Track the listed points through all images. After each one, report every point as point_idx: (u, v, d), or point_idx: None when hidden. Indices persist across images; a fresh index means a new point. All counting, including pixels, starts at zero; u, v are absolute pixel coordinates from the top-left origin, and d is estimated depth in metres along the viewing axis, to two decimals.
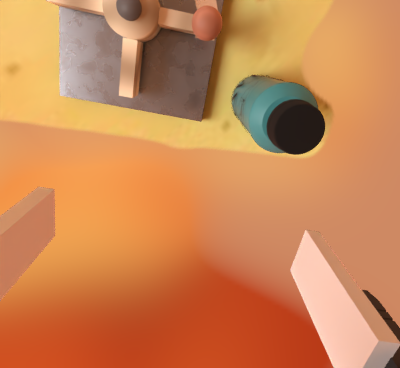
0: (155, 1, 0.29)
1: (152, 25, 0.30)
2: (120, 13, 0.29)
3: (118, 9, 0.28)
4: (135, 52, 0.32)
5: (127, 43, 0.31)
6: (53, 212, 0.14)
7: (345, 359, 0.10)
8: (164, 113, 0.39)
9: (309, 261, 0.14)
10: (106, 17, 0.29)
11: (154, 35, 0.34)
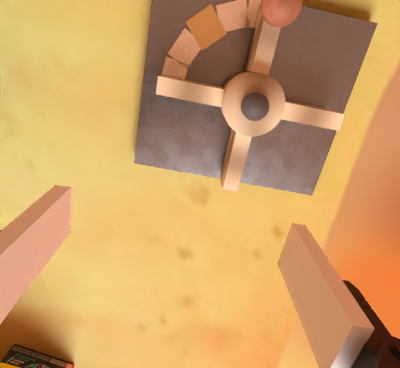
0: (250, 74, 0.25)
1: (274, 80, 0.25)
2: (261, 117, 0.25)
3: (257, 118, 0.25)
4: (295, 105, 0.27)
5: (284, 113, 0.27)
6: (69, 210, 0.15)
7: (324, 345, 0.11)
8: (355, 77, 0.30)
9: (294, 253, 0.14)
10: (261, 133, 0.27)
11: None
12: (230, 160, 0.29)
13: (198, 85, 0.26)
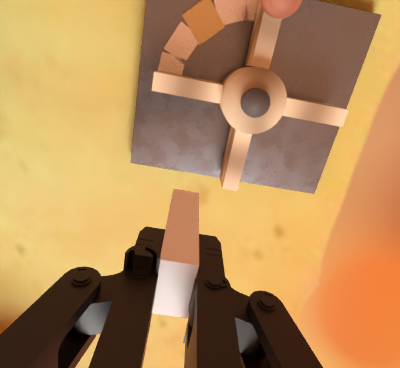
0: (249, 69, 0.24)
1: (275, 75, 0.24)
2: (262, 113, 0.24)
3: (258, 115, 0.24)
4: (296, 101, 0.26)
5: (286, 110, 0.26)
6: None
7: None
8: (358, 71, 0.29)
9: None
10: (261, 130, 0.26)
11: None
12: (230, 159, 0.28)
13: (196, 81, 0.25)
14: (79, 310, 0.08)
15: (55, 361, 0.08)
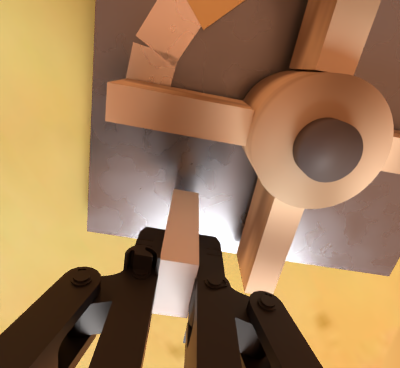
0: (318, 78, 0.10)
1: (374, 90, 0.11)
2: (343, 174, 0.11)
3: (333, 178, 0.11)
4: None
5: None
6: None
7: None
8: None
9: None
10: (332, 203, 0.12)
11: None
12: (261, 245, 0.15)
13: (197, 101, 0.12)
14: (79, 310, 0.08)
15: (55, 361, 0.08)
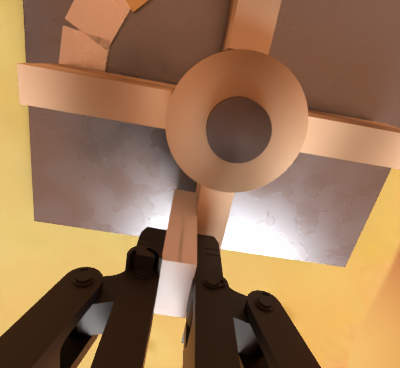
0: (223, 54, 0.10)
1: (282, 67, 0.10)
2: (254, 154, 0.11)
3: (245, 158, 0.11)
4: (327, 122, 0.12)
5: (304, 140, 0.13)
6: None
7: None
8: None
9: None
10: (254, 186, 0.12)
11: None
12: None
13: (111, 82, 0.12)
14: (81, 310, 0.08)
15: (57, 361, 0.08)
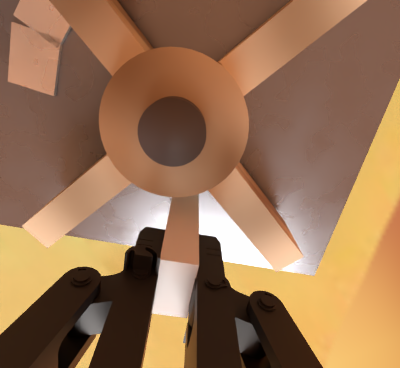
0: (107, 92, 0.10)
1: (154, 51, 0.10)
2: (201, 136, 0.10)
3: (198, 147, 0.10)
4: (248, 41, 0.11)
5: (246, 76, 0.11)
6: None
7: None
8: None
9: None
10: (238, 155, 0.11)
11: None
12: (242, 228, 0.14)
13: (76, 183, 0.13)
14: (79, 310, 0.08)
15: (55, 361, 0.08)
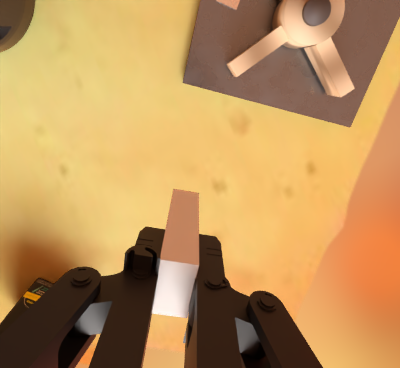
0: None
1: None
2: (329, 12, 0.26)
3: (327, 16, 0.26)
4: None
5: None
6: None
7: None
8: None
9: None
10: (337, 25, 0.27)
11: None
12: (329, 70, 0.30)
13: (260, 41, 0.29)
14: (79, 310, 0.08)
15: (55, 361, 0.08)
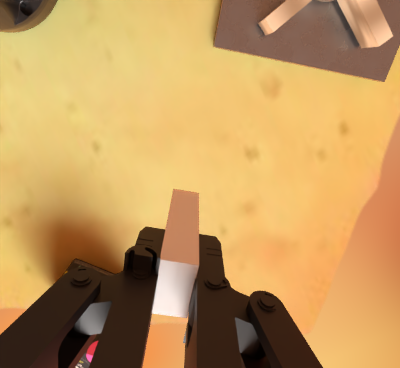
0: None
1: None
2: None
3: None
4: None
5: None
6: None
7: None
8: None
9: None
10: None
11: None
12: (366, 18, 0.29)
13: None
14: (79, 310, 0.08)
15: (55, 361, 0.08)
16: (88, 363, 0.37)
